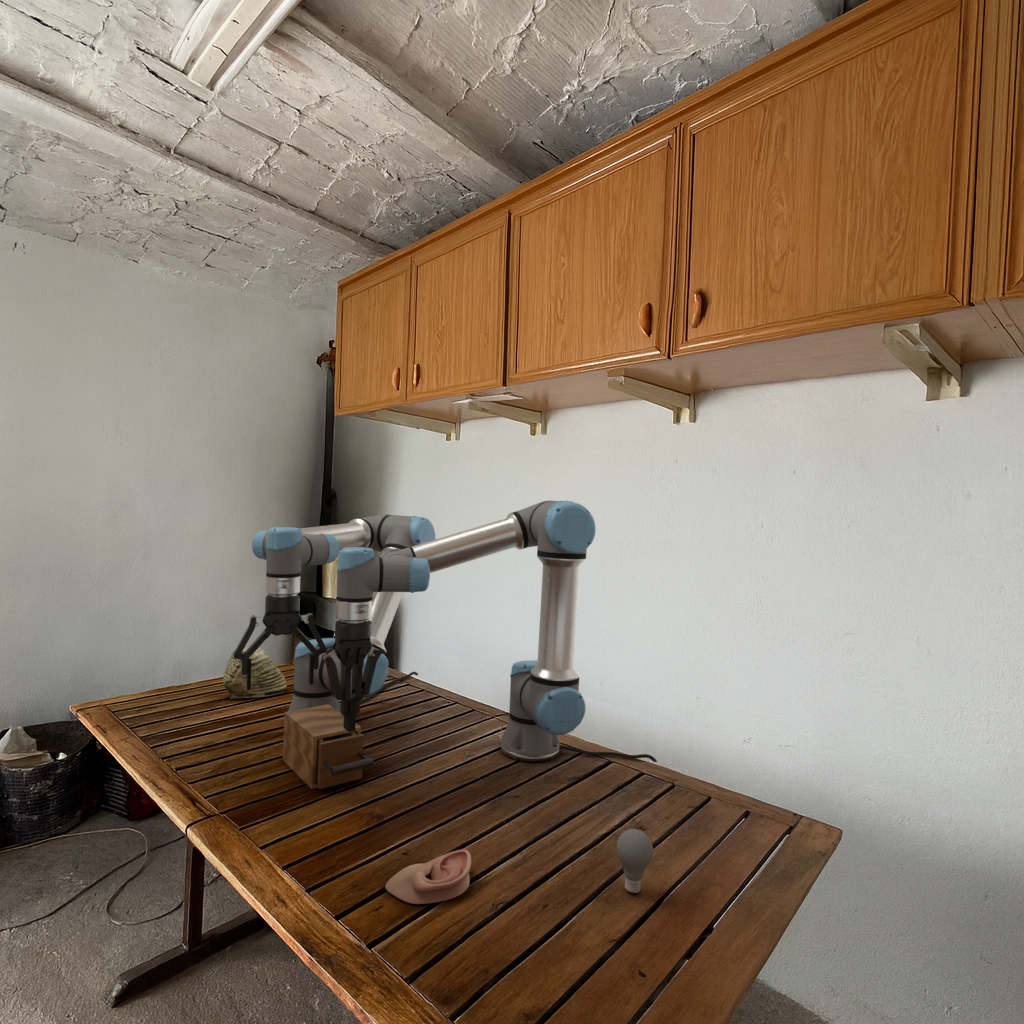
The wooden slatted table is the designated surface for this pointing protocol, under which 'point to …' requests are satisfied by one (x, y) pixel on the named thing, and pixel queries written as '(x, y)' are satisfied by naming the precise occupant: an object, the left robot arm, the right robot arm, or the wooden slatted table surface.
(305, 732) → the cabinet
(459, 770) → the wooden slatted table surface
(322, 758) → the drawer
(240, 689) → the fossil
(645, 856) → the light bulb
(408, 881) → the anatomical model
